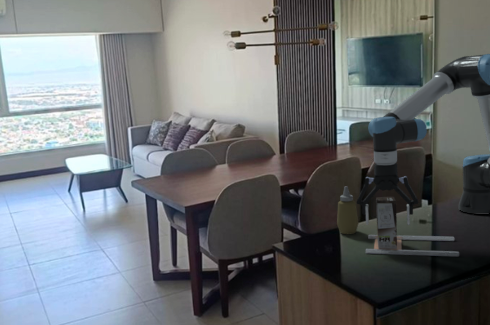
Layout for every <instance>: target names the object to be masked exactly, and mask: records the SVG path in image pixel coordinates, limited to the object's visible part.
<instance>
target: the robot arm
mask: <svg viewBox="0 0 490 325" xmlns="http://www.w3.org/2000/svg"><path fill="white" fill-rule="evenodd" d="M462 88H466V89H467V88H469V89H470V92H471V96H472V97H474V98H476V99H477V102H478V106H479V111H480V115H481V119H482V120H481V121H482V123H483V129H484V133H485V137H486V142H487V145H488V146H487V147H488V150H489V152H490V53H485V54H478V55H465V56H462V57H458V58H456V59H454V60H452V61H450V62H449V63H447V64H446V65H444V66H443V67H441V68H440V69H438V70H437V71H436V72H434V73H433V75H432V78H431V79H430V80H428V81H427V82H426V83H425V84H423V85H422V86H421V87H420V88H419V89H417V90H416V91H414V92H413V93H412V94H411V95H409V96H408V97H407V98H406V99H404V100H403V101H402V102H401V103H399V104H398V105H397V106H395V107H394V108H392V109H391V110H390V111H389V112H388V113H386V114H384V115H383V116H379V117H374V118H372V119H371V121H370V122H369V123H368V126H367V127H368V133H369V135H370V136H371V137H372V140H373V143H372V144H373V162H374V164H373V165H374V176H373V177H370V176H366V177H365V181H364V184H363V188H362V189H361V191H360V194H359V196H358V198H357V199H356V205H360V206H361V208H362V209H361V212H362V215H365V224H366V226H367V225H369V223H370V218H369V215H370V214H369V204H368V202H370V201H371V199H372V198H373V197H374V196H375V194H376V193H377V192H378V191H392V190H394V191H395V192H396V193H397V194H398V195H399V196H400V197H401V198H402V200H404V201H405V203H406V216H407V218H406V220H407V222H406V223H407V225H408V226H410V225H411V223H410V222H411V218H410V216H411V215H412V216H413V214H414V205H418V204H419V198H418V197H417V196H416V194H415V192H414V190H413V189H412V187H411V185H410V183H409V180H408V176H407V175H404V176H401V177H399V176H398V163H397V162H398V149H397V148H398V145H399V144H404V143H412V142H414V143H415V142H417V141H422V140H424V138H426V135H427V132H428V131H427V130H428V129H427V125H426V123H425V121H424V120H422V119H421V118H417V117H418V116H419V115H420V114H422V113H423V112H424V111H426V110H427V109H428V108H429V107H431V106H432V105H433V104H434V103H435V102H437V101H438V100H440V98H442V97H444V95H449V94H451V93H453V92H455V91H456V90H460V89H462ZM372 182H373V183H374V184H375V186H374V187H373V188H372V190H371V191H370V192H369V193H368V195H367V196H366V197H365V198H364V196H365V195H366V191H367V190H368V188H369V185H371V184H372ZM399 182H401V184H404V186H405V188H406V190H407V192H408V194H409V195H410V197H411V198H410V197H409V196H408V195H407V194H406V193H405V192H404V191H403V190H402V189H401V188H400V186H399V185H398V183H399ZM363 198H364V199H363ZM459 210H461V211H463V212H468V213H490V153H488V154H487V153H486V154H476V155H468V156H466V157H464V158H463V163H462V194H461V196H460V199H459V202H458V211H459ZM461 211H460V212H461ZM463 212H462V213H463Z"/></svg>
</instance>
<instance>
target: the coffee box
mask: <svg viewBox="0 0 490 325" xmlns="http://www.w3.org/2000/svg"><path fill="white" fill-rule="evenodd" d="M375 198H376V199H375V204H376V205H375V206H376V232H377V233H376V235H377V239H378V248H379V249H397V234H398V229H397V228H398V223H397V222H398V221H397V220H398V219H397V200H396V199H395V196H382V197H377V196H376V197H375Z"/></svg>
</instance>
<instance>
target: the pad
mask: <svg viewBox="0 0 490 325" xmlns="http://www.w3.org/2000/svg"><path fill="white" fill-rule="evenodd" d="M373 249H379V248H378V239H374V246H373ZM391 250H402V240H397V249H391Z"/></svg>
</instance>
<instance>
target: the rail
mask: <svg viewBox="0 0 490 325" xmlns="http://www.w3.org/2000/svg"><path fill="white" fill-rule="evenodd" d="M367 237H368V240H375V239H377V234H368V236H367ZM397 240H401V241H402V240H403V241H405V240H406V241H433V242H434V241H436V242H437V241H438V242H440V241H441V242H442V241H445V242H454V241H455V237H454V236H448V235H447V236H446V235H445V236H442V235H441V236H437V235H435V236H434V235H404V234H403V235H397ZM365 254H375V255H402V256H404V255H406V256H409V255H410V256H436V257H437V256H438V257H460V252H459V251H453V250H448V251H447V250H446V251H445V250H420V249H419V250H417V249H414V250H413V249H401V250H391V249H374V248H365Z"/></svg>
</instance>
